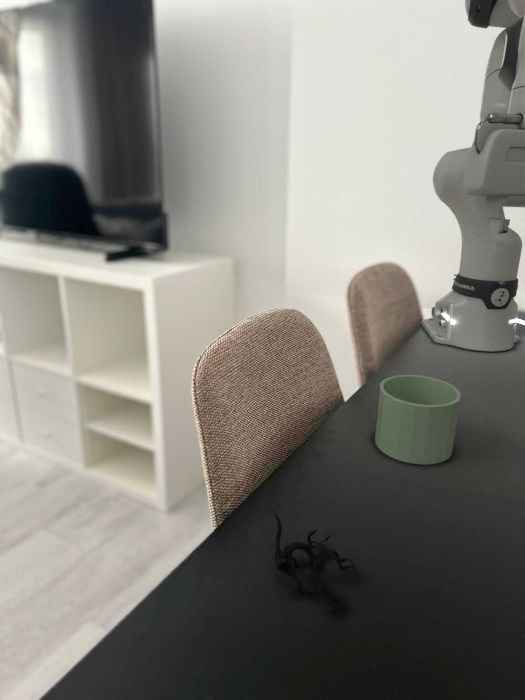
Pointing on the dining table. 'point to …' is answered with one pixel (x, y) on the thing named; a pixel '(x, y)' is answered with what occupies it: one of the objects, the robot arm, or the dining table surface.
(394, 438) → the cup
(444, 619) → the dining table surface
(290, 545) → the creature
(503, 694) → the dining table surface
